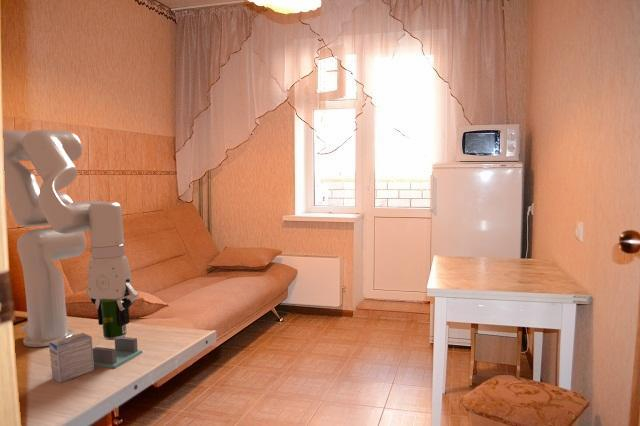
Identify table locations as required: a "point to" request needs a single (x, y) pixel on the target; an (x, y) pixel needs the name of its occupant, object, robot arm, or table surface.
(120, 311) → the robot arm
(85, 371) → the medicine box
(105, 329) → the beer can
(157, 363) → the table surface
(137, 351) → the end holder
